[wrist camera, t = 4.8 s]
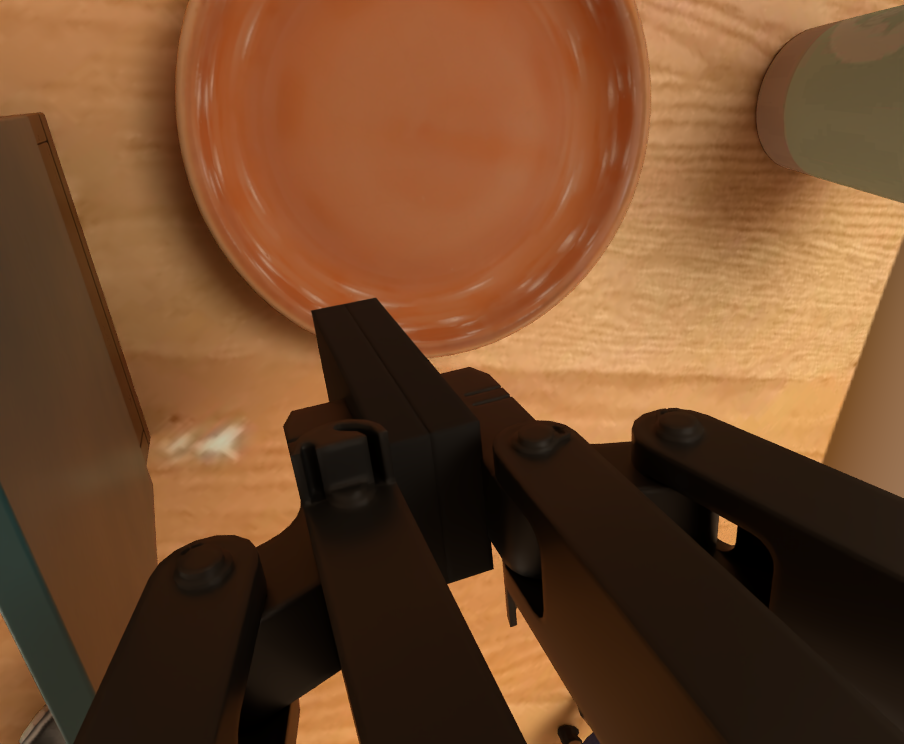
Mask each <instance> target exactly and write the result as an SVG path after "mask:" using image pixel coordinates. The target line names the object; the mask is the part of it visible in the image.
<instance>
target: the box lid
mask: <svg viewBox="0 0 904 744" xmlns="http://www.w3.org/2000/svg"><path fill="white" fill-rule="evenodd" d="M156 567H157V549H156V531H155V513H154V495H153V483H152V480H151V478H150V475H149V472H148V469H147V466H146V463H145V460H144V457H143V454H142V451H141V448H140V445H139V442H138V439H137V436H136V433H135V430H134V427H133V425H132V422H131V419H130V416H129V413H128V410H127V407H126V404H125V401H124V398H123V395H122V392H121V389H120V386H119V383H118V380H117V377H116V374H115V371H114V369H113V366H112V363H111V360H110V357H109V354H108V351H107V348H106V345H105V342H104V339H103V336H102V333H101V330H100V327H99V324H98V321H97V318H96V315H95V313H94V310H93V307H92V304H91V301H90V298H89V295H88V292H87V289H86V286H85V283H84V280H83V277H82V274H81V271H80V268H79V265H78V262H77V259H76V257H75V254H74V251H73V248H72V245H71V242H70V239H69V236H68V233H67V230H66V227H65V224H64V221H63V218H62V215H61V212H60V209H59V206H58V204H57V201H56V198H55V195H54V192H53V189H52V186H51V183H50V180H49V177H48V174H47V171H46V168H45V165H44V162H43V159H42V156H41V153H40V150H39V148H38V145H37V142H36V139H35V136H34V133H33V130H32V127H31V124H30V121H29V118H28V117H27V116H26V115H20V116H11V117H3V118H0V613H1V615H2V617H3V619H4V621H5V623H6V625H7V627H8V629H9V631H10V633H11V635H12V637H13V639H14V641H15V643H16V645H17V647H18V649H19V651H20V653H21V655H22V657H23V659H24V661H25V663H26V665H27V667H28V669H29V671H30V673H31V675H32V677H33V679H34V681H35V683H36V685H37V687H38V689H39V691H40V692H41V694H42V696H43V698H44V700H45V702H46V704H47V706H48V708H49V710H50V712H51V714H52V716H53V718H54V720H55V722H56V724H57V726H58V728H59V730H60V732H61V734H62V736H63V738H64V740H65V742H66V744H73V743H74V741H75V738H76V736H77V734H78V732H79V730H80V727H81V725H82V723H83V721H84V719H85V717H86V714H87V712H88V710H89V708H90V706H91V703H92V701H93V699H94V697H95V695H96V692H97V690H98V688H99V686H100V684H101V682H102V679H103V677H104V675H105V673H106V671H107V668H108V666H109V664H110V662H111V660H112V658H113V655H114V653H115V651H116V649H117V647H118V644H119V642H120V640H121V638H122V636H123V634H124V631H125V629H126V627H127V625H128V623H129V620H130V618H131V616H132V614H133V612H134V610H135V607H136V605H137V603H138V601H139V599H140V596H141V594H142V592H143V590H144V588H145V586H146V583H147V581H148V579H149V577H150V576H151V574H152V573H153V571H154V570H155V569H156Z"/></svg>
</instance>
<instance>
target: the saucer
mask: <svg viewBox="0 0 904 744" xmlns="http://www.w3.org/2000/svg"><path fill="white" fill-rule="evenodd" d="M175 107H176V122H177V131H178V139H179V145H180V150H181V154H182V159H183V164H184V168H185V172H186V175H187V179H188V182H189V184H190V187H191V190H192V193H193V196H194V198H195V201H196V203H197V206H198V209H199V211H200V213H201V215H202V217H203V219H204V221H205V223H206V225H207V227H208V229H209V231H210V233H211V235H212V236H213V238H214V240H215V242H216V243H217V245H218V246H219V248H220V249H221V251H222V252H223V253H224V255H225V256H226V258H227V259H228V260H229V262H230V263H231V264H232V266H233V267H234V268H235V270H236V271H237V272H238V273H239V274H240V275H241V277H242V278H243V279H244V280H245V281H246V282H247V283H248V285H249V286H250V287H251V288H252V289H253V290H254V291H255V292H256V293H257V294H258V295H259V296H260V297H261V298H262V299H263V300H265V301H266V302H267V303H268V304H269V305H271V306H272V307H273V308H274V309H275V310H277V311H278V312H279V313H280V314H282V315H283V316H284V317H286V318H287V319H289V320H290V321H292V322H293V323H295V324H297V325H298V326H300V327H301V328H303V329H305V330H307V331H309V332H310V333H312V334H314V335H316V333H315V328H314V323H313V318H312V313H311V310H316V309H321V308H326V307H331V306H336V305H341V304H346V303H351V302H356V301H361V300H366V299H371V298H377V299H378V300H379V302H380V303H381V304H382V305H383V306H384V308H385V309H386V310H387V311H388V312H389V314H390V315H391V316H392V317H393V318H394V320H395V321H396V322H397V323H398V324H399V326H400V327H401V328H402V329H403V330H404V332H405V333H406V334H407V335H408V336H409V337H410V339H411V340H412V341H413V342H414V343H415V345H416V346H417V347H418V348H419V349H420V351H421V352H422V353H423V354H424V355H425V357H426V358H432V357H442V356H448V355H454V354H458V353H463V352H466V351H470V350H474V349H478V348H480V347H483V346H486V345H489V344H492V343H494V342H496V341H498V340H501V339H503V338H505V337H507V336H509V335H511V334H513V333H515V332H517V331H519V330H520V329H522V328H524V327H526V326H527V325H529V324H531V323H532V322H534V321H535V320H537V319H538V318H540V317H541V316H543V315H544V314H545V313H547V312H548V311H549V310H551V309H552V308H553V307H554V306H556V305H557V304H558V303H559V302H560V301H562V300H563V299H564V298H565V297H566V296H567V295H568V294H569V293H570V292H571V291H573V290H574V288H575V287H576V286H577V285H578V284H579V283H580V282H581V281H582V280H583V279H584V278H585V277H586V275H587V274H588V273H589V272H590V271H591V269H592V268H593V267H594V266H595V264H596V263H597V262H598V260H599V259H600V258H601V256H602V255H603V253H604V252H605V250H606V249H607V247H608V245H609V244H610V242H611V241H612V239H613V238H614V236H615V234H616V232H617V230H618V228H619V226H620V225H621V223H622V221H623V219H624V216H625V214H626V212H627V210H628V208H629V206H630V203H631V201H632V198H633V196H634V193H635V190H636V187H637V184H638V180H639V177H640V174H641V170H642V167H643V162H644V158H645V153H646V148H647V142H648V135H649V125H650V112H651V80H650V67H649V60H648V53H647V45H646V41H645V36H644V32H643V27H642V23H641V19H640V16H639V12H638V9H637V6H636V3H635V0H189V2H188V5H187V8H186V11H185V15H184V19H183V23H182V28H181V34H180V39H179V45H178V52H177V61H176V70H175Z"/></svg>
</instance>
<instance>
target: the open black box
mask: <svg viewBox="0 0 904 744" xmlns="http://www.w3.org/2000/svg"><path fill="white" fill-rule="evenodd" d="M20 115H26V116H27V117H28V118H29V121H30V124H31V127H32V130H33V133H34V136H35V139H36V142H37V145H38V148H39V150H40V153H41V156H42V159H43V162H44V165H45V168H46V171H47V174H48V177H49V180H50V183H51V186H52V189H53V192H54V195H55V198H56V201H57V204H58V206H59V209H60V212H61V215H62V218H63V221H64V224H65V227H66V230H67V233H68V236H69V239H70V242H71V245H72V248H73V251H74V254H75V257H76V259H77V262H78V265H79V268H80V271H81V274H82V277H83V280H84V283H85V286H86V289H87V292H88V295H89V298H90V301H91V304H92V307H93V310H94V313H95V315H96V318H97V321H98V324H99V327H100V330H101V333H102V336H103V339H104V342H105V345H106V348H107V351H108V354H109V357H110V360H111V363H112V366H113V369H114V371H115V374H116V377H117V380H118V383H119V386H120V389H121V392H122V395H123V398H124V401H125V404H126V407H127V410H128V413H129V416H130V419H131V422H132V425H133V427H134V430H135V433H136V436H137V439H138V442H139V445H140V448H141V451H142V454H143V457H144V460H145V463H146V465H147V458H148V451H149V444H150V438H151V437H150V434H149V431H148V428H147V425H146V422H145V419H144V416H143V413H142V410H141V407H140V404H139V401H138V398H137V395H136V392H135V389H134V386H133V382H132V379H131V376H130V373H129V370H128V367H127V364H126V361H125V358H124V355H123V352H122V349H121V346H120V343H119V340H118V337H117V334H116V331H115V328H114V325H113V322H112V319H111V316H110V313H109V310H108V307H107V304H106V301H105V297H104V294H103V291H102V288H101V285H100V282H99V279H98V276H97V273H96V270H95V267H94V264H93V261H92V258H91V255H90V252H89V249H88V246H87V243H86V240H85V237H84V234H83V231H82V228H81V225H80V222H79V219H78V216H77V212H76V209H75V206H74V203H73V200H72V197H71V194H70V191H69V188H68V185H67V182H66V179H65V176H64V173H63V170H62V167H61V164H60V161H59V158H58V155H57V152H56V149H55V146H54V143H53V140H52V137H51V134H50V131H49V127H48V124H47V121H46V118H45V115H44V114H43V113H41V112H39V113H30V114H20ZM20 115H11V116H20ZM11 116H2V117H0V118H3V117H11Z"/></svg>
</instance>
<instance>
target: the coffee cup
mask: <svg viewBox="0 0 904 744" xmlns="http://www.w3.org/2000/svg"><path fill="white" fill-rule="evenodd" d="M756 122H757V130H758V135H759V139H760V142H761V144H762V147H763V148H764V150H765V152H766V153H767V155H768V156H769V157H770V158H771V159H772V160H773V161H774V162H775V163H777V164H778V165H780V166H782V167H785V168H788V169H791V170H795V171H798V172H801V173H804V174H808V175H811V176H814V177H817V178H821V179H824V180H827V181H831V182H834V183H837V184H841V185H844V186H848V187H851V188H854V189H858V190H861V191H864V192H868V193H871V194H874V195H878V196H881V197H884V198H888V199H891V200H894V201H898V202H901V203H904V5H901V6H897V7H893V8H889V9H885V10H881V11H877V12H873V13H869V14H865V15H861V16H857V17H853V18H850V19H846V20H842V21H838V22H834V23H830V24H827V25H823V26H819V27H815V28H811V29H808V30H806V31H804V32H802V33H800V34H799V35H797V36H796V37H794V38H793V39H792V40H790V41H789V42H788V43H787V44H786V45H785V46H784V47H783V48H782V49H781V51H780V52H779V53H778V54H777V56H776V57H775V59H774V60H773V62H772V63H771V65H770V67H769V69H768V71H767V73H766V75H765V77H764V80H763V82H762V85H761V88H760V92H759V96H758V102H757V111H756Z"/></svg>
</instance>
